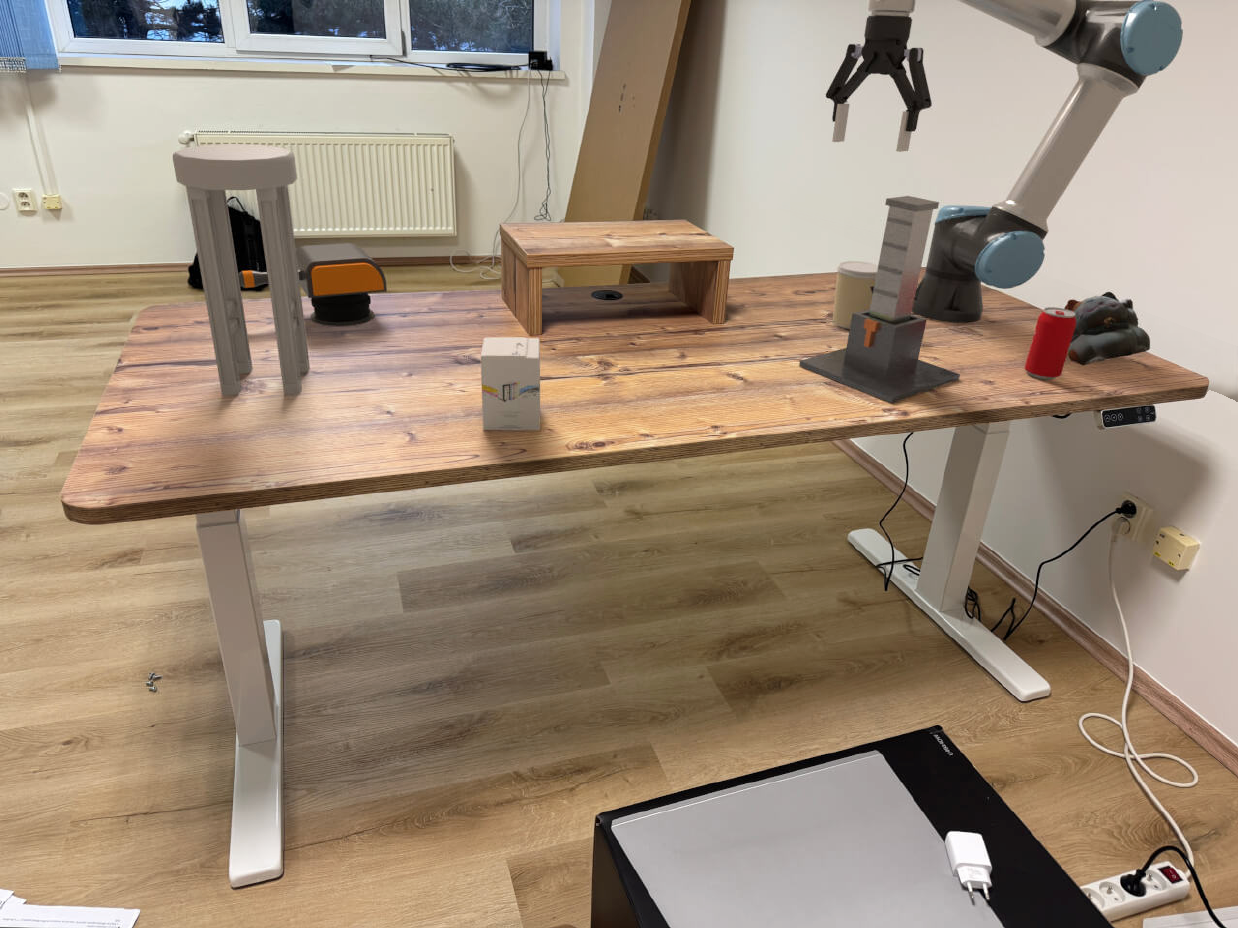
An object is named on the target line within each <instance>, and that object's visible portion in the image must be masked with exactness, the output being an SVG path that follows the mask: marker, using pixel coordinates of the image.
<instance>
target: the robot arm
mask: <svg viewBox="0 0 1238 928" xmlns="http://www.w3.org/2000/svg"><path fill="white" fill-rule="evenodd" d="M957 1H958V2H960V3H962V4H965V5H967V6H969V7H971V8H973V9H975V10H977V11H979V12H982V13H984V14H986V15H987V16H990V17H992V18H995V19H997V20H999V21H1001V22H1003V23H1004V24H1007V25H1009V26H1012V27H1014V28H1016V29H1018V30H1019V31H1022V32H1024V33H1026V34H1028V35H1030V36H1033V38H1034V42H1035V44H1037V46H1038V47H1039V46H1040V47H1041V48H1043V49H1045V50H1047V51H1049V52H1052V53H1054V54H1055V55H1057V56H1059V57H1060V58H1063V59H1065V60H1067V61H1069V62H1070V63H1073V64H1074V65H1076V68H1075V69H1076V71H1077V77H1078V79H1077V81H1076V83H1075V85H1074V86H1073V88H1072V90H1071V91H1070V93H1069V94H1068V97H1067V98H1066V100H1065V101H1064V103H1063V104H1062V106H1061V108H1060V109H1059V111H1058V112H1057V114H1056V116H1055V118H1054V119H1053V121H1052V123H1051V124H1050V125H1049V128H1048V129H1047V131H1046V132H1045V134H1044V136H1043V138H1042V139H1041V141H1040V142H1039V144H1038V146H1037V147H1036V149H1035V151H1034V152H1033V154H1032V156H1031V157H1030V159H1029V160H1028V162H1027V163H1026V165H1025V166H1024V168H1023V170H1022V172H1021V173H1020V175H1019V177H1018V178H1017V180H1016V181H1015V183H1014V185H1013V186H1012V188H1011V190H1010V192H1009V193H1008V195H1007V197H1006V198H1005V199H1004V200H1003V201H1001V202H998V203H994V204H993V205H992V206H981V205H963V204H962V205H961V204H959V205H952V204H951V205H944V206H942V207H941V208H940V209H939V210H938V213H937V216H936V219H935V221H934V229H933V234H932V237H931V243H930V248H929V253H928V258H927V262H926V267H925V272H924V275H923V277H922V279H921V280H920V282H919V283H918V284H917V289H916V293H915V298H914V303H913V308H912V312H911V313H914V315H916V316H918V317H921V318H924V319H929V320H934V321H937V322H944V323H953V324H968V323H969V324H970V323H971V324H972V323H974V322H978V321H980V320H981V319H982V315H983V311H984V305H983V293H982V283H983V284H984V285H986V286H990V287H994V288H997V289H1005V290H1006V289H1013V288H1016V287H1019V286H1021V285H1023V284H1026V283H1027V282H1028V281H1030V280H1031V279H1032V278H1033V277H1035V275H1036V274H1037V273H1038V272H1039V270H1040V269H1041V267H1042V265H1043V262H1044V260H1045V255H1046V254H1045V249H1046V247H1045V244H1044V242H1043V241H1044V239H1045V238H1046V236H1047V234H1049V227H1048V223H1047V219H1048V218H1049V216H1050V215H1051V213H1052V212H1053V211H1054V208H1055V207H1056V205H1057V204H1058V202H1059V201H1060V199H1061V198H1062V196H1063V195H1064V193H1065V191H1066V189H1067V188H1068V186H1069V184H1070V183H1071V182H1072V180H1073V178H1074V177H1075V175H1076V174H1077V172H1078V170H1079V169H1080V167H1081V165H1082V164H1083V163H1084V161H1085V159H1086V157H1087V156H1088V155H1089V153H1090V152H1091V150H1092V148H1093V146H1094V145H1095V143H1096V142H1097V140H1098V139H1099V137H1100V136H1101V134H1102V133H1103V130H1104V129H1105V128H1106V126H1107V125H1108V123H1109V122H1110V120H1111V118H1112V116H1113V115H1114V114H1115V112H1116V110H1117V109H1118V107H1119V105H1120V104H1121V102H1122V101H1123V99H1124V98H1126V97H1128V96H1129V97H1130V96H1131V95H1134V94H1137V93H1138V92H1139V90H1140V88H1141V87H1142V86H1143V84H1144V82H1145V80H1146V78H1147V77H1149V76H1152V75H1155V74H1157V73H1159V72H1161V71H1164V70H1166V68H1167V67H1169V66H1170V65H1171V63H1172V62H1173V61H1174V60H1175V58H1176V57H1177V55H1178V53H1179V50H1180V48H1181V46H1182V42H1183V33H1184V32H1183V31H1184V30H1183V28H1182V24H1183V22H1182V18H1181V15H1180V13H1179V12H1178V11H1177V9H1176V8H1175V7H1174V6H1172V5H1171V4H1170V3H1167V2H1164V1H1157V0H1156V1H1155V0H957ZM915 7H916V0H869V3H868V11H869V12H870V13H871V14H870V15H868V17H866V20H865V29H864V33H863V34H864V44H863V46H862V45H861V44H860V43H849V44H848V46H847V48H846V53H845V57H844V59H843V61H842V62H841V65H840V66H839V68H838V70H837V72H836V73H835V74H836V75H834V77H833V79H832V81H831V83H830V86H829V87H828V89H827V91H826V93H825V98H826V99H829V100H831V101H832V102H833V110H832V111H833V112H832V118H831V120H832V122H833V123H834V127H833V134H832V141H831V142H832V143H840V142H845V140H846V139H845V136H846V131H847V123H848V117H849V111H850V110H849V109H850V103H848V102H849V101H848V99H850V97H851V96H852V95H853V94H854V93H855V92H856V90H858V88H859V87H860V86H861V84H863V82H864V81H865V80H866V79H867V77H868V76H870V75H882V76H883V75H884V76H886V75H887V76H890V78H891V79H892V80H893V82H894V84H895V86H896V88H897V90H898V93H899V94H900V96H901V98H902V101H903V102H904V105H905V107H906V110H905V111H902V114H901V122H900V125H899V126H900V127H899V133H898V139H897V145H896V150H895V151H896V152H899V153H901V152H902V153H903V152H907V151H909V149H910V143H911V138H912V133H913V132H915V131H916V129H917V126H918V120H919V117H920V116H919V115H920V113H921V111H923V110H927V109H930V108H931V107H932V104H933V103H932V99H931V94H930V90H929V86H928V85H929V84H928V81H927V76H926V75H927V74H926V71H925V68H924V67H925V66H924V48H922V47H911V48H909V49H908V43H909V42H908V41H909V39H910V35H911V30H912V24H913V19H912V17H911V16H910V14H912V13H913V12H915ZM861 57H862V59H863V61H861V63H860V65H858V67H856V65H857V63H858V61H859V59H860V58H861ZM905 60H906V61H907V63H908V68H909V73H910V77H911V81H912V82H911V81H910V79H909V77H908V75H907V69H906V67H905V65H904V63H903V62H904V61H905ZM855 67H856V71H855V72H854V73H853V74H852V72H853V70H854V69H855ZM851 74H852V75H851ZM850 76H851V77H850ZM911 83H912V84H911Z"/></svg>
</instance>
